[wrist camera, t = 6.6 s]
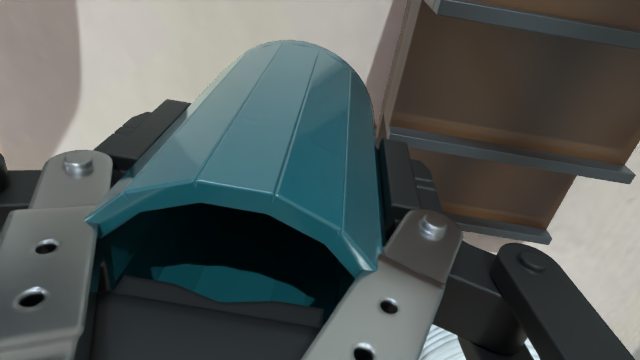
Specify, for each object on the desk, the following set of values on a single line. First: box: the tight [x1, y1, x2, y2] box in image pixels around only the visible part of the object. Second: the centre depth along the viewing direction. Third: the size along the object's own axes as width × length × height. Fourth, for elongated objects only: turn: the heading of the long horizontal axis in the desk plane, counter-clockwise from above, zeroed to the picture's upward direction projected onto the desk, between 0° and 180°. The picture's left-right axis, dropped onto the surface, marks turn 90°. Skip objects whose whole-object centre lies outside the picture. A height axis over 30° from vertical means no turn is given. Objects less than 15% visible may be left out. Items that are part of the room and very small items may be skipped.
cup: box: [84, 40, 387, 325], centre depth 11 cm, size 6×6×8 cm
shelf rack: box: [376, 0, 640, 245], centre depth 23 cm, size 15×24×12 cm, turn 171°
